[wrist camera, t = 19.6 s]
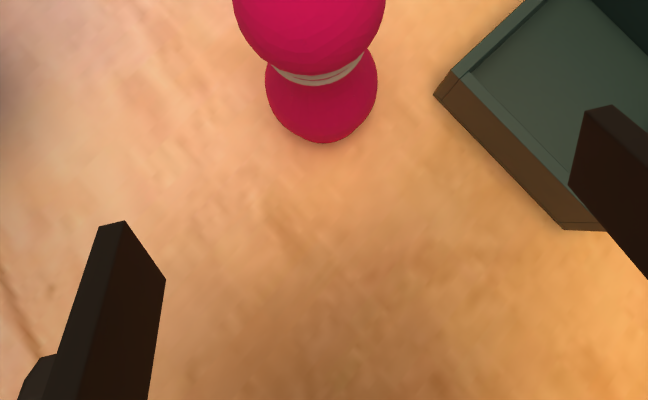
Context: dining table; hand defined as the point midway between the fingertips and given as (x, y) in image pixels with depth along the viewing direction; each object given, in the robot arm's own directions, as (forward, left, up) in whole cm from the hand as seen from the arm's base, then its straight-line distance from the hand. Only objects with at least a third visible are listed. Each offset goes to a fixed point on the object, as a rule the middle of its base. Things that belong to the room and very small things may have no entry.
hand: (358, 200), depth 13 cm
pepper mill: (-7, +4, -20) cm, 22 cm away
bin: (+5, +17, -20) cm, 27 cm away
